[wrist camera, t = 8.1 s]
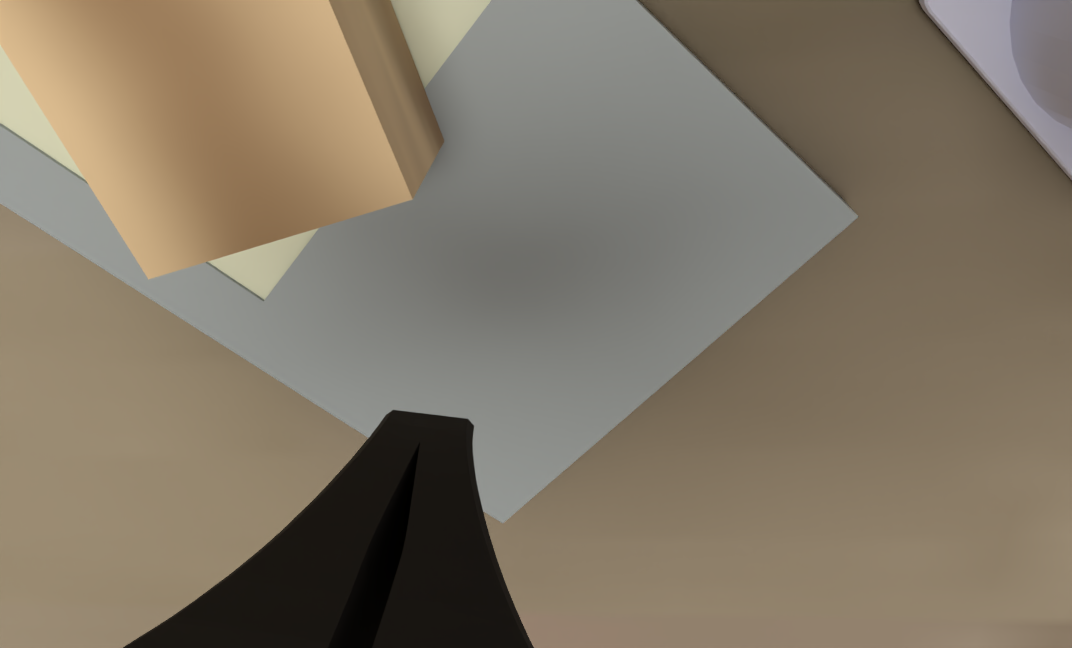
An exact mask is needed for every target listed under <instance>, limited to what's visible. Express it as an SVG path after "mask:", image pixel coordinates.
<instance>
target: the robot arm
mask: <svg viewBox="0 0 1072 648" xmlns="http://www.w3.org/2000/svg"><path fill="white" fill-rule="evenodd" d="M919 3H920V5H921V7H922V9H923V10H924V11H925V13H926V14H927V15H928V16H929V17H930V18H931V19H932V21H933V22H934V23H935V24H936V25H937V26H938V28H939V29H940V30H941V31H942V32H943V33H944V34H945V36H946V37H947V38H948V39H949V40H950V41H951V42H952V44H953V45H954V46H955V47H956V48H957V49H958V50H959V52H960V53H961V54H962V55H963V56H964V57H965V58H966V60H967V61H968V62H969V63H970V64H971V65H972V66H973V68H974V69H975V70H976V71H977V72H978V73H979V75H980V76H981V77H982V78H983V79H984V80H985V81H986V83H987V84H988V85H989V86H990V87H991V88H992V89H993V91H994V92H995V93H996V94H997V95H998V96H999V97H1000V99H1001V100H1002V101H1003V102H1004V103H1005V104H1006V105H1007V107H1008V108H1009V109H1010V110H1011V111H1012V112H1013V114H1014V115H1015V116H1016V117H1017V118H1018V119H1019V120H1020V122H1021V123H1022V124H1023V125H1024V126H1025V127H1026V128H1027V130H1028V131H1029V132H1030V133H1031V134H1032V135H1033V136H1034V138H1035V139H1036V140H1037V141H1038V142H1039V143H1040V144H1041V146H1042V147H1043V148H1044V149H1045V150H1046V151H1047V152H1048V154H1049V155H1050V156H1051V157H1052V158H1053V159H1054V161H1055V162H1056V163H1057V164H1058V165H1059V166H1060V167H1061V169H1062V170H1063V171H1064V172H1065V173H1066V174H1067V175H1068V177H1069V178H1070V179H1071V180H1072V0H919ZM473 432H474V425H473V424H472V423H471V421H470V420H469V419H466V418H458V417H449V416H441V415H433V414H424V413H416V412H408V411H400V410H392V411H391V412H389V413H388V414H386V415H385V417H384V418H383V420H382V421H381V422H380V424H379V425H378V426H377V428H376V429H375V430H374V432H373V433H372V434H371V436H370V437H369V438H368V439H367V441H366V442H365V443H364V444H363V446H362V447H361V448H360V449H359V450H358V452H357V453H356V454H355V455H354V456H353V458H352V459H351V460H350V461H349V462H348V463H347V464H346V466H345V467H344V468H343V469H342V470H341V471H340V472H339V473H338V474H337V475H336V477H335V478H334V479H333V480H332V481H331V482H330V483H329V484H328V485H327V486H326V487H325V489H324V490H323V491H322V492H321V493H320V494H319V495H318V496H317V497H316V498H315V499H314V500H313V501H312V502H311V503H310V504H309V505H308V506H307V507H306V508H305V509H304V510H303V511H302V512H301V513H300V514H298V515H297V516H296V517H295V518H294V519H293V520H292V521H291V522H290V523H289V524H288V525H287V526H286V527H285V528H284V529H283V530H282V531H281V532H280V533H279V534H277V535H276V536H275V537H274V538H273V539H272V540H271V541H270V542H268V543H267V544H266V545H265V546H264V547H263V548H262V549H260V550H259V551H258V552H257V553H256V554H254V555H253V556H252V557H251V558H250V559H248V560H247V561H246V562H245V563H243V564H242V565H241V566H240V567H239V568H237V569H236V570H235V571H234V572H232V573H231V574H230V575H229V576H227V577H226V578H225V579H223V580H222V581H220V582H219V583H218V584H216V585H215V586H214V587H212V588H211V589H210V590H208V591H207V592H206V593H204V594H203V595H202V596H200V597H199V598H198V599H196V600H195V601H194V602H192V603H191V604H189V605H188V606H187V607H185V608H184V609H182V610H181V611H179V612H178V613H176V614H175V615H174V616H172V617H171V618H169V619H168V620H166V621H165V622H163V623H161V624H160V625H158V626H157V627H155V628H153V629H152V630H150V631H149V632H147V633H145V634H144V635H142V636H141V637H139V638H137V639H136V640H134V641H133V642H131V643H130V644H128V645H126V646H125V647H123V648H534V647H533V645H532V643H531V641H530V639H529V637H528V635H527V633H526V631H525V629H524V626H523V624H522V622H521V620H520V617H519V615H518V613H517V611H516V608H515V606H514V603H513V601H512V598H511V596H510V594H509V591H508V589H507V586H506V584H505V581H504V578H503V575H502V573H501V570H500V567H499V564H498V561H497V558H496V555H495V552H494V549H493V545H492V542H491V539H490V536H489V532H488V529H487V525H486V521H485V518H484V513H483V509H482V505H481V500H480V496H479V491H478V486H477V481H476V475H475V467H474V459H473Z"/></svg>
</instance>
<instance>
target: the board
mask: <svg viewBox="0 0 1072 648" xmlns="http://www.w3.org/2000/svg"><path fill="white" fill-rule="evenodd" d="M390 1H391V4H392V6H393V9H394V11H395V14H396V17H397V19H398V22H399V24H400V27H401V30H402V32H403V35H404V37H405V40H406V42H407V45H408V48H409V50H410V53H411V55H412V58H413V61H414V63H415V66H416V68H417V71H418V74H419V76H420V79H421V81H422V84H423V87H424V89H425V92H426V94H427V97H428V100H429V102H430V105H431V107H432V110H433V113H434V115H435V118H436V120H437V123H438V125H439V128H440V131H441V133H442V136H443V138H444V143H443V145H442V147H441V148H440V150H439V152H438V154H437V156H436V158H435V159H434V161H433V163H432V165H431V167H430V169H429V170H428V172H427V174H426V176H425V178H424V180H423V181H422V183H421V185H420V187H419V189H418V191H417V192H416V194H415V196H414V198H413V200H409V201H406V202H403V203H399V204H396V205H393V206H390V207H386V208H383V209H380V210H376V211H373V212H370V213H366V214H363V215H360V216H357V217H353V218H350V219H347V220H343V221H340V222H337V223H333V224H330V225H327V226H324V227H320V228H317V229H314V230H310V231H307V232H304V233H300V234H297V235H294V236H291V237H287V238H284V239H281V240H277V241H274V242H271V243H267V244H264V245H261V246H257V247H254V248H251V249H248V250H244V251H241V252H238V253H234V254H231V255H228V256H224V257H221V258H218V259H215V260H211V261H208V262H205V263H201V264H198V265H195V266H191V267H188V268H185V269H182V270H178V271H175V272H172V273H168V274H165V275H162V276H158V277H155V278H152V279H149V280H148V278H147V276H146V275H145V273H144V272H143V270H142V268H141V267H140V265H139V264H138V262H137V261H136V259H135V257H134V256H133V254H132V253H131V251H130V249H129V248H128V246H127V245H126V243H125V242H124V240H123V238H122V237H121V235H120V234H119V232H118V230H117V229H116V227H115V226H114V224H113V222H112V221H111V219H110V218H109V216H108V215H107V213H106V211H105V210H104V208H103V207H102V205H101V203H100V202H99V200H98V199H97V197H96V196H95V194H94V192H93V191H92V189H91V188H90V186H89V184H88V183H87V181H86V180H85V178H84V177H83V175H82V173H81V172H80V170H79V169H78V167H77V165H76V164H75V162H74V161H73V159H72V158H71V156H70V154H69V153H68V151H67V150H66V148H65V146H64V145H63V143H62V142H61V140H60V139H59V137H58V135H57V134H56V132H55V131H54V129H53V127H52V126H51V124H50V123H49V121H48V120H47V118H46V116H45V115H44V113H43V112H42V110H41V108H40V107H39V105H38V104H37V102H36V101H35V99H34V97H33V96H32V94H31V93H30V91H29V89H28V88H27V86H26V85H25V83H24V82H23V80H22V78H21V77H20V75H19V74H18V72H17V70H16V69H15V67H14V66H13V64H12V63H11V61H10V59H9V58H8V56H7V55H6V53H5V51H4V50H3V48H2V47H1V45H0V204H2V205H4V206H5V207H7V208H8V209H10V210H11V211H13V212H15V213H16V214H18V215H19V216H21V217H22V218H24V219H26V220H27V221H29V222H30V223H32V224H33V225H35V226H37V227H38V228H40V229H41V230H43V231H44V232H46V233H48V234H49V235H51V236H52V237H54V238H55V239H57V240H59V241H60V242H62V243H63V244H65V245H66V246H68V247H70V248H71V249H73V250H74V251H76V252H77V253H79V254H81V255H82V256H84V257H85V258H87V259H88V260H90V261H92V262H93V263H95V264H96V265H98V266H99V267H101V268H103V269H104V270H106V271H107V272H109V273H110V274H112V275H114V276H115V277H117V278H118V279H120V280H121V281H123V282H125V283H126V284H128V285H129V286H131V287H132V288H134V289H135V290H137V291H139V292H140V293H142V294H143V295H145V296H146V297H148V298H150V299H151V300H153V301H154V302H156V303H157V304H159V305H161V306H162V307H164V308H165V309H167V310H168V311H170V312H172V313H173V314H175V315H176V316H178V317H179V318H181V319H183V320H184V321H186V322H187V323H189V324H190V325H192V326H194V327H195V328H197V329H198V330H200V331H201V332H203V333H205V334H206V335H208V336H209V337H211V338H212V339H214V340H216V341H217V342H219V343H220V344H222V345H223V346H225V347H227V348H228V349H230V350H231V351H233V352H234V353H236V354H238V355H239V356H241V357H242V358H244V359H245V360H247V361H249V362H250V363H252V364H253V365H255V366H256V367H258V368H259V369H261V370H263V371H264V372H266V373H267V374H269V375H270V376H272V377H274V378H275V379H277V380H278V381H280V382H281V383H283V384H285V385H286V386H288V387H289V388H291V389H292V390H294V391H296V392H297V393H299V394H300V395H302V396H303V397H305V398H307V399H308V400H310V401H311V402H313V403H314V404H316V405H318V406H319V407H321V408H322V409H324V410H325V411H327V412H329V413H330V414H332V415H333V416H335V417H336V418H338V419H340V420H341V421H343V422H344V423H346V424H347V425H349V426H351V427H352V428H354V429H355V430H357V431H358V432H360V433H362V434H363V435H365V436H366V437H368V438H369V437H370V436H371V434H372V433H373V432H374V430H375V429H376V428H377V426H378V425H379V424H380V422H381V421H382V420H383V418H384V417H385V415H386V414H388V413H389V412H391V411H392V410H400V411H408V412H416V413H424V414H433V415H441V416H449V417H458V418H466V419H469V420H470V421H471V423H472V424H473V425H474V432H473V459H474V467H475V475H476V481H477V486H478V491H479V496H480V500H481V505H482V509H483V511H484V512H486V513H487V514H489V515H490V516H492V517H493V518H495V519H497V520H498V521H500V522H501V523H504V522H505V521H506V520H507V519H509V518H510V517H511V516H512V515H513V514H514V513H515V512H517V511H518V510H519V509H520V508H521V507H522V506H524V505H525V504H526V503H527V502H528V501H529V500H531V499H532V498H533V497H534V496H535V495H536V494H538V493H539V492H540V491H541V490H542V489H543V488H545V487H546V486H547V485H548V484H549V483H550V482H551V481H553V480H554V479H555V478H556V477H557V476H558V475H560V474H561V473H562V472H563V471H564V470H565V469H567V468H568V467H569V466H570V465H571V464H572V463H574V462H575V461H576V460H577V459H578V458H579V457H580V456H582V455H583V454H584V453H585V452H586V451H587V450H589V449H590V448H591V447H592V446H593V445H594V444H596V443H597V442H598V441H599V440H600V439H601V438H603V437H604V436H605V435H606V434H607V433H608V432H609V431H611V430H612V429H613V428H614V427H615V426H616V425H618V424H619V423H620V422H621V421H622V420H623V419H625V418H626V417H627V416H628V415H629V414H630V413H632V412H633V411H634V410H635V409H636V408H637V407H638V406H640V405H641V404H642V403H643V402H644V401H645V400H647V399H648V398H649V397H650V396H651V395H652V394H654V393H655V392H656V391H657V390H658V389H659V388H661V387H662V386H663V385H664V384H665V383H666V382H668V381H669V380H670V379H671V378H672V377H673V376H674V375H676V374H677V373H678V372H679V371H680V370H681V369H683V368H684V367H685V366H686V365H687V364H688V363H690V362H691V361H692V360H693V359H694V358H695V357H697V356H698V355H699V354H700V353H701V352H702V351H703V350H705V349H706V348H707V347H708V346H709V345H710V344H712V343H713V342H714V341H715V340H716V339H717V338H719V337H720V336H721V335H722V334H723V333H724V332H726V331H727V330H728V329H729V328H730V327H731V326H732V325H734V324H735V323H736V322H737V321H738V320H739V319H741V318H742V317H743V316H744V315H745V314H746V313H748V312H749V311H750V310H751V309H752V308H753V307H755V306H756V305H757V304H758V303H759V302H760V301H761V300H763V299H764V298H765V297H766V296H767V295H768V294H770V293H771V292H772V291H773V290H774V289H775V288H777V287H778V286H779V285H780V284H781V283H782V282H784V281H785V280H786V279H787V278H788V277H789V276H791V275H792V274H793V273H794V272H795V271H796V270H797V269H799V268H800V267H801V266H802V265H803V264H804V263H806V262H807V261H808V260H809V259H810V258H811V257H813V256H814V255H815V254H816V253H817V252H818V251H820V250H821V249H822V248H823V247H824V246H825V245H826V244H828V243H829V242H830V241H831V240H832V239H833V238H835V237H836V236H837V235H838V234H839V233H840V232H842V231H843V230H844V229H845V228H846V227H847V226H849V225H850V224H851V223H852V222H853V221H854V220H855V219H857V218H858V215H857V214H856V213H855V212H854V211H853V210H852V209H851V207H850V206H849V205H848V204H847V203H846V202H845V201H844V200H843V199H842V198H841V197H840V196H839V195H838V194H837V193H836V192H835V191H834V190H833V189H832V188H831V187H830V186H829V185H828V184H827V183H826V182H825V181H824V180H823V179H822V178H820V177H819V176H818V175H817V174H816V173H815V172H814V171H813V170H812V169H811V168H810V167H809V166H808V165H807V164H806V163H805V162H804V161H803V160H802V159H801V158H800V157H799V156H798V155H797V154H796V153H795V152H794V151H793V150H792V149H791V148H790V147H789V146H788V145H787V144H786V143H784V142H783V141H782V140H781V139H780V138H779V137H778V136H777V135H776V134H775V133H774V132H773V131H772V130H771V129H770V128H769V127H768V126H767V125H766V124H765V123H764V122H763V121H762V120H761V119H760V118H759V117H758V116H757V115H756V114H755V113H754V112H753V111H752V110H751V109H750V108H748V107H747V106H746V105H745V104H744V103H743V102H742V101H741V100H740V99H739V98H738V97H737V96H736V95H735V94H734V93H733V92H732V91H731V90H730V89H729V88H728V87H727V86H726V85H725V84H724V83H723V82H722V81H721V80H720V79H719V78H718V77H717V76H716V75H715V74H714V73H712V72H711V71H710V70H709V69H708V68H707V67H706V66H705V65H704V64H703V63H702V62H701V61H700V60H699V59H698V58H697V57H696V56H695V55H694V54H693V53H692V52H691V51H690V50H689V49H688V48H687V47H686V46H685V45H684V44H683V43H682V42H681V41H680V40H679V39H678V38H676V37H675V36H674V35H673V34H672V33H671V32H670V31H669V30H668V29H667V28H666V27H665V26H664V25H663V24H662V23H661V22H660V21H659V20H658V19H657V18H656V17H655V16H654V15H653V14H652V13H651V12H650V11H649V10H648V9H647V8H646V7H645V6H644V5H643V4H642V3H640V2H639V1H638V0H390Z"/></svg>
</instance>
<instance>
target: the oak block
mask: <svg viewBox="0 0 1072 648" xmlns="http://www.w3.org/2000/svg"><path fill="white" fill-rule="evenodd" d="M0 45H1V47H2V48H3V50H4V51H5V53H6V55H7V56H8V58H9V59H10V61H11V63H12V64H13V66H14V67H15V69H16V70H17V72H18V74H19V75H20V77H21V78H22V80H23V82H24V83H25V85H26V86H27V88H28V89H29V91H30V93H31V94H32V96H33V97H34V99H35V101H36V102H37V104H38V105H39V107H40V108H41V110H42V112H43V113H44V115H45V116H46V118H47V120H48V121H49V123H50V124H51V126H52V127H53V129H54V131H55V132H56V134H57V135H58V137H59V139H60V140H61V142H62V143H63V145H64V146H65V148H66V150H67V151H68V153H69V154H70V156H71V158H72V159H73V161H74V162H75V164H76V165H77V167H78V169H79V170H80V172H81V173H82V175H83V177H84V178H85V180H86V181H87V183H88V184H89V186H90V188H91V189H92V191H93V192H94V194H95V196H96V197H97V199H98V200H99V202H100V203H101V205H102V207H103V208H104V210H105V211H106V213H107V215H108V216H109V218H110V219H111V221H112V222H113V224H114V226H115V227H116V229H117V230H118V232H119V234H120V235H121V237H122V238H123V240H124V242H125V243H126V245H127V246H128V248H129V249H130V251H131V253H132V254H133V256H134V257H135V259H136V261H137V262H138V264H139V265H140V267H141V268H142V270H143V272H144V273H145V275H146V276H147V278H148V280H149V279H152V278H155V277H158V276H162V275H165V274H168V273H172V272H175V271H178V270H182V269H185V268H188V267H191V266H195V265H198V264H201V263H205V262H208V261H211V260H215V259H218V258H221V257H224V256H228V255H231V254H234V253H238V252H241V251H244V250H248V249H251V248H254V247H257V246H261V245H264V244H267V243H271V242H274V241H277V240H281V239H284V238H287V237H291V236H294V235H297V234H300V233H304V232H307V231H310V230H314V229H317V228H320V227H324V226H327V225H330V224H333V223H337V222H340V221H343V220H347V219H350V218H353V217H357V216H360V215H363V214H366V213H370V212H373V211H376V210H380V209H383V208H386V207H390V206H393V205H396V204H399V203H403V202H406V201H409V200H413V198H414V196H415V194H416V192H417V191H418V189H419V187H420V185H421V183H422V181H423V180H424V178H425V176H426V174H427V172H428V170H429V169H430V167H431V165H432V163H433V161H434V159H435V158H436V156H437V154H438V152H439V150H440V148H441V147H442V145H443V143H444V138H443V136H442V133H441V131H440V128H439V125H438V123H437V120H436V118H435V115H434V113H433V110H432V107H431V105H430V102H429V100H428V97H427V94H426V92H425V89H424V87H423V84H422V81H421V79H420V76H419V74H418V71H417V68H416V66H415V63H414V61H413V58H412V55H411V53H410V50H409V48H408V45H407V42H406V40H405V37H404V35H403V32H402V30H401V27H400V24H399V22H398V19H397V17H396V14H395V11H394V9H393V6H392V4H391V1H390V0H0Z"/></svg>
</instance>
